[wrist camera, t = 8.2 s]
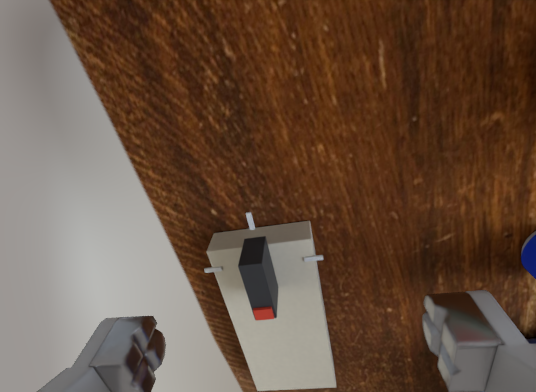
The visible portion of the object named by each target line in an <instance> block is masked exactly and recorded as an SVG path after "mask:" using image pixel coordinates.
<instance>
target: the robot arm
mask: <svg viewBox="0 0 536 392" xmlns="http://www.w3.org/2000/svg"><path fill="white" fill-rule="evenodd" d="M424 306H425V308H426V310H427V312H426V313H425V314H424V315H423V322H422V325H423V331H424V335H425V339H426V342H427V344H428V346H429V349H430V351H431V352H433V353H434V354H435V355H437V356H438V364H437V367H438V369H439V371H440V374H441V376H442V378H443V380H444V382H445V385H446V387H447V389H448V391H449V392H476V391H485V392H536V344H529V342H528V341H527V340H526V339H525V337H524V336H523V335H522V333H521V332H520V331H519V330H518V328H517V327H516V326H515V324H514V323H513V322H512V321H511V319H510V318H509V317H508V315H507V314H506V313H505V312H504V310H503V309H502V308H501V306H500V305H499V304H498V303H497V301H496V300H495V299H494V297H493V296H492V295H491V294H490V293H489V292H488V291H486V290H479V291H466V292H452V293H440V294H429V295H426V296H425V299H424ZM156 325H157V322H156V320H155V319H154V317H153V316H139V317H120V318H106V319H105V320H103V321H102V322H101V323H100V324H99V326H98V327H97V329H96V330H95V332H94V333H93V335H92V336H91V338H90V340H89V341H88V343H87V344H86V346H85V347H84V349H83V350H82V352H81V354H80V355H79V357H78V358H77V360H76V361H75V363H74V365H73V366H72V367H71V368H66V369H65V370H64V371H62V372H61V373H60V374H59V375H57V376H56V377H55V378H54V379H52V380H51V381H50V382H48V383H47V384H46V385H45V386H43V387H42V388H41V389H40V390H38V391H37V392H151V390H152V387H153V385H154V383H155V380H156V378H155V374H154V371H155V370H156V369H157V368H158V367H159V366H160V365H161V364H162V361H163V358H164V355H165V346H166V344H165V338H164V336H163V334H162V333H161V332H160V331H158V330H157V329H155V327H156Z"/></svg>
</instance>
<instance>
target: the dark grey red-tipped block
mask: <svg viewBox="0 0 536 392" xmlns="http://www.w3.org/2000/svg"><path fill="white" fill-rule="evenodd" d="M238 268H239V271H240V274H241V277H242V280H243V283H244V287H245V290H246V293H247V296H248V299H249V302H250V305H251V309H252V312H253V315H254V318H255V320H256V321H257V320H269V319H274V318H277V305H278V283H277V279H276V275H275V271H274V267H273V263H272V259H271V255H270V251H269V248H268V244H267V240H266V236H262V237H255V238H247V239H244V243H243V247H242V251H241V256H240V260H239V264H238Z"/></svg>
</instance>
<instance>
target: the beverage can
mask: <svg viewBox="0 0 536 392" xmlns="http://www.w3.org/2000/svg"><path fill="white" fill-rule="evenodd" d="M521 261H522V265H523V266H524V268H525V269H526V270H527V271H528V272H529V273H530V274H531V275H532V276H533V277H534V278H535V279H536V231H535V232H533V233H532V234H531V235H530V236H529V237H528V238H527V239H526V241H525V243H524V244H523V247H522V251H521Z"/></svg>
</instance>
